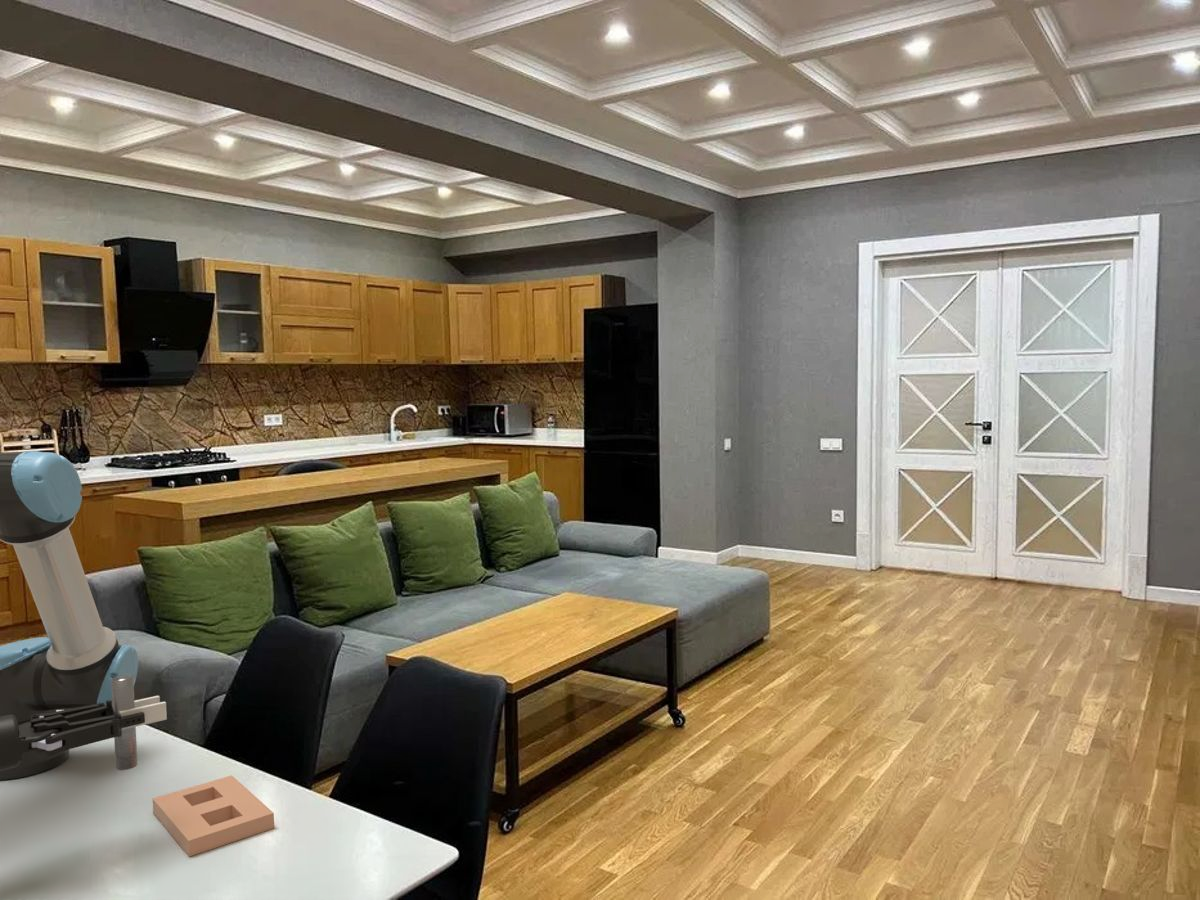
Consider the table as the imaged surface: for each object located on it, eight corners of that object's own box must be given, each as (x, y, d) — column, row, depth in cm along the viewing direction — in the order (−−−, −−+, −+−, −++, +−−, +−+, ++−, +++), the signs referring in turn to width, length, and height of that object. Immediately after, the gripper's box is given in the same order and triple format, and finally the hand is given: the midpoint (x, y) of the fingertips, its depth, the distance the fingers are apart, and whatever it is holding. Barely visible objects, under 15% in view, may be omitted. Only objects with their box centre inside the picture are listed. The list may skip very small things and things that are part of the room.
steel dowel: (113, 765, 140) (109, 678, 139) (134, 760, 142) (130, 673, 141) (118, 771, 138) (113, 682, 137) (139, 766, 140) (135, 678, 139)
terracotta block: (153, 812, 150) (152, 798, 150) (232, 789, 159) (231, 775, 159) (189, 856, 136) (188, 840, 136) (274, 827, 144) (273, 812, 144)
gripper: (-21, 755, 134) (150, 716, 149) (-6, 791, 122) (178, 745, 137) (-24, 706, 134) (148, 672, 149) (-9, 737, 122) (176, 697, 137)
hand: (162, 707), depth 143 cm, fingers closed on steel dowel, 3 cm apart
